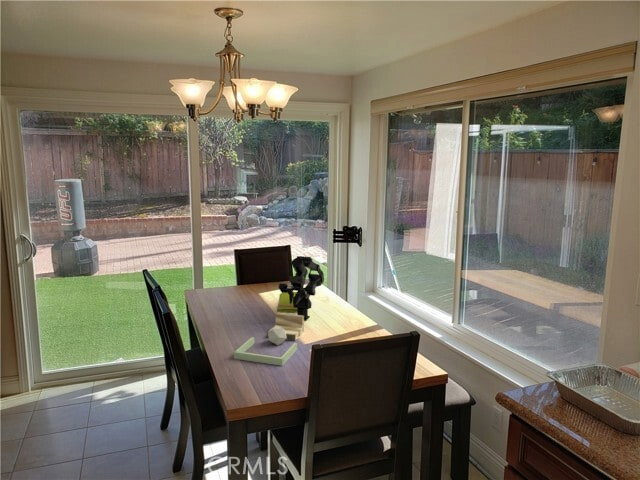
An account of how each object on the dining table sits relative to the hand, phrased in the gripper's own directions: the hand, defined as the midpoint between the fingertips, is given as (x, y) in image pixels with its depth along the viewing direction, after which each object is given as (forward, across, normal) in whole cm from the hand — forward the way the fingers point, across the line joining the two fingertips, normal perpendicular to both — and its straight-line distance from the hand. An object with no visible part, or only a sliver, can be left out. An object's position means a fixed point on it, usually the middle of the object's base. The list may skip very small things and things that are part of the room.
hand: (293, 303), depth 239 cm
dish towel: (-18, -15, +37) cm, 43 cm away
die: (+24, 0, -6) cm, 25 cm away
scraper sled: (+16, 0, +2) cm, 16 cm away
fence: (+33, 0, -15) cm, 36 cm away
